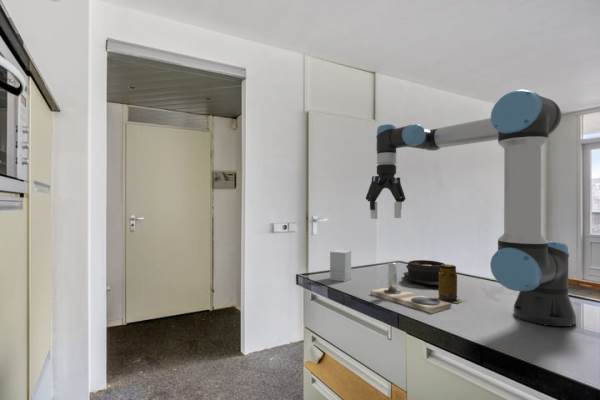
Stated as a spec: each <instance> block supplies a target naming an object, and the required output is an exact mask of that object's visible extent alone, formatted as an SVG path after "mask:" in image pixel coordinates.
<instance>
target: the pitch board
mask: <svg viewBox="0 0 600 400" xmlns="http://www.w3.org/2000/svg"><path fill="white" fill-rule="evenodd" d="M370 295H372V296H374V297H377V298H382V299H385V300H388V301H390V302H391V301H392V302H394V303H398V304H400V305H403V306H407V307H411V308H413V309H417V310H421V311H422V312H426V313H430V314H436V313H438V312H442V311H445V310H448V309H452V302H448V301H443V300H439V299H435V298H432V297H429V296H426V295H425V296H424V295H421V294H418V293H414V292H409V291H407V290H404V289H403V290H402V289H399V288H397V292H395V293H391V292H388V286H387V287H386V286H385V287H380V288H375V289H370Z"/></svg>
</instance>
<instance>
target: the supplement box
mask: <svg viewBox="0 0 600 400" xmlns="http://www.w3.org/2000/svg"><path fill="white" fill-rule="evenodd" d="M329 274H330V275H329V277H330V281H336V282H347V281H349V280H351V279H352V251H351V250H346V249H344V250H343V249H335V250H331V251H330V252H329Z"/></svg>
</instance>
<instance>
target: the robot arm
mask: <svg viewBox="0 0 600 400" xmlns="http://www.w3.org/2000/svg"><path fill="white" fill-rule="evenodd" d="M561 119H562V111H561V108H560V106H559V105H558V103H556V102H555V101H554V100H553V99H551V98H547V97H544V96H542V95H540V94H538V93H536V92H535V91H532V90H526V89H517V90H512V91H510V92H508V93H506V94H504V95H502V97H500V98H499V99H498V100H497V101H496V103H495V104H494V106H493V107H492V109H491V113H490V117H488V118H483V119H478V120H473V121H468V122H464V123H462V122H461V123H458V124H453V125H448V126H447V125H446V126H443V127H438V128H432V129H425V127H423V126H422V125H421V124H418V123H416V124H409V125H405V126H402V127H401V126H400V127H397V126H396V125H395V124H389V123H388V124H381V125H379V126H378V127H377V130H376V164H377V165H376V175H373V176H372V177H371V182H370V185H369V187H368V190H367V193H366V195H365V200H366V201H367V202H369V210H370V219H371V220H372V219H373V220H374V219H375V220H377V219H378V201H377V199H378V198H379V197H380V194H381V193H382V191H383V189H388V190H389V191H390V193H391V195H392V196H393V198H394V200H395V201H394V203H393V204H394V205H393V206H394V207H393V208H394V210H393V211H394V213H393V216H394V218H395V219H401V218H402V206H403V205H402V202H403V203H404V202H405V201H406V196H405V192H404V190H403V186H402V184H401V177H395V175H396V174H397V165H396V164H397V149H400V148H401V149H402V148H414V149H421V150H426V151H438V150H440V149H441V148H448V147H455V146H462V145H469V144H476V143H483V142H490V141H498V142H497V143H498V145H499V146H500V147H501V148H503V150H504V154H503V155H504V158H503V161H504V162H503V163H504V165H503V166H504V170H503V171H504V172H503V174H504V178H503V180H504V181H503V182H504V184H503V186H504V189H503V190H504V192H503V194H504V195H503V197H504V198H503V204H504V205H503V234H502V235H501V236H499V238H497V251H496V252H494V254H493V255H492V257H491V260H490V270H491V271H490V272H491V274H492V275H493V277H494V279H495V280H496V281H497V282H498V283H499V284H500V285H501V286H503V288H506V289H508V290H511V291H513V292H514V291H515V292H518V295H517V297H516V299H515V302H514V305H513V316H515V317H516V316H517V317H516V318H518V319H520V318H521V320H523V319H524V320H523V321H525V320H527V321H526V322H528V321H530V322H529V323H532V322H533V323H532V324H536V323H539V324H538V325H541V324H546V325H554V326H570V325H574V324H577V315H576V312H575V310H574V308H573V307H574V306H573V304H572V301H571V299H570V297H569V257H570V253H569V247H568V245H567V244H565V243H563V242H556V241H548V240H547V239H546V238H545V237H544V236H542V146H544V144H546V142H548V141H549V135H551V134H552V133H553V132H555V131H556V129H557V128H558V126H559V125H560V123H561V121H562V120H561ZM546 325H545V326H546ZM554 326H553V327H554ZM574 326H575V325H574Z"/></svg>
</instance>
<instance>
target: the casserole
mask: <svg viewBox="0 0 600 400" xmlns="http://www.w3.org/2000/svg"><path fill="white" fill-rule="evenodd" d="M442 264H445V263H444V262H440V261H436V260H425V259H418V260H416V259H415V260H409V261H408V263H407V265H405V267H406V269H407V271H405V272H403V273H402V274H403V275H404V276H403V278H404V279H406V280H408V281H411V282H413V283H416V284H418V285H424V286H439V272H440V265H442Z"/></svg>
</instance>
